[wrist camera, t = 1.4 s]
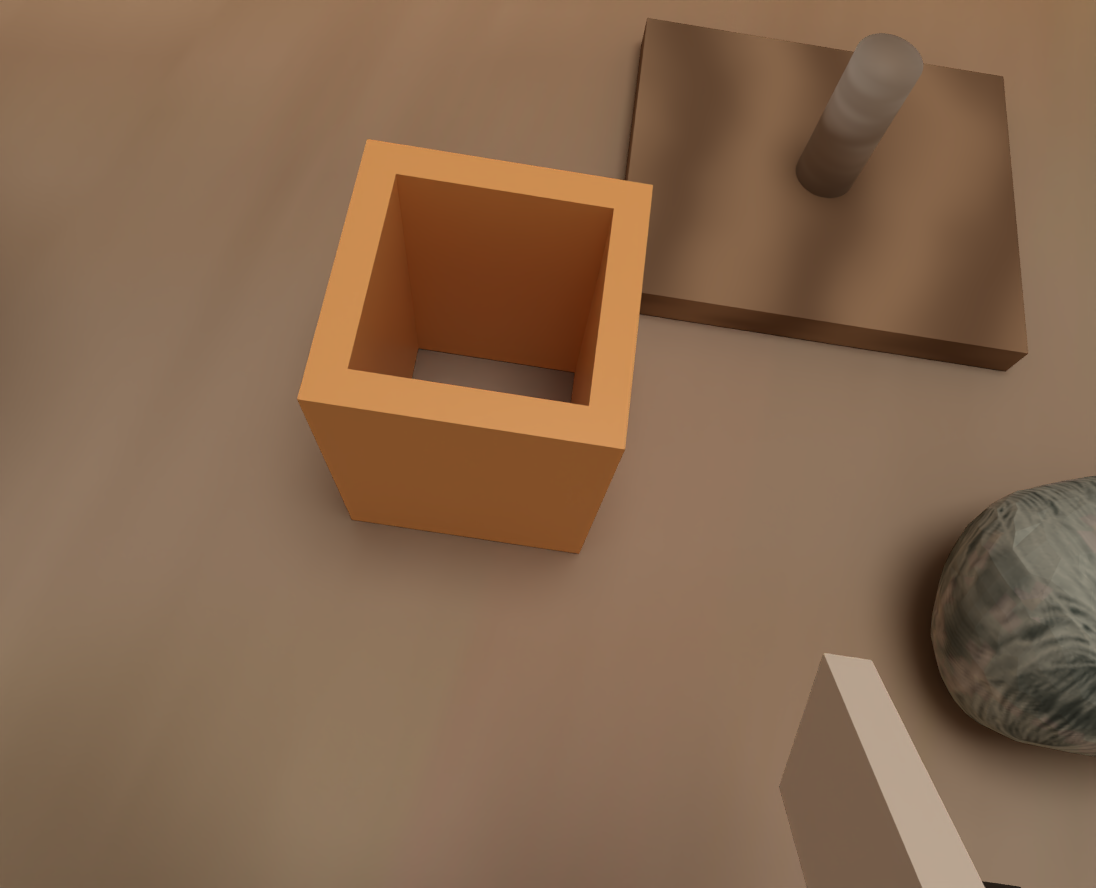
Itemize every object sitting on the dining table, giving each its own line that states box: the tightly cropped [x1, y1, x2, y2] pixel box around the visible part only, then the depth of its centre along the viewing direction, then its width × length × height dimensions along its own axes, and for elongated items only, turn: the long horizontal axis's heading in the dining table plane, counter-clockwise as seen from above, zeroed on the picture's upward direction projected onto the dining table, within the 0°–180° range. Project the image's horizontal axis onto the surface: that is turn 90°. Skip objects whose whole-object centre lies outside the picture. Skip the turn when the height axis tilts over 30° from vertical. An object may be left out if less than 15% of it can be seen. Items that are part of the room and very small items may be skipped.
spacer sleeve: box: [297, 139, 653, 554], centre depth 27 cm, size 8×8×10 cm
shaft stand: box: [625, 18, 1028, 371], centre depth 33 cm, size 16×14×8 cm
